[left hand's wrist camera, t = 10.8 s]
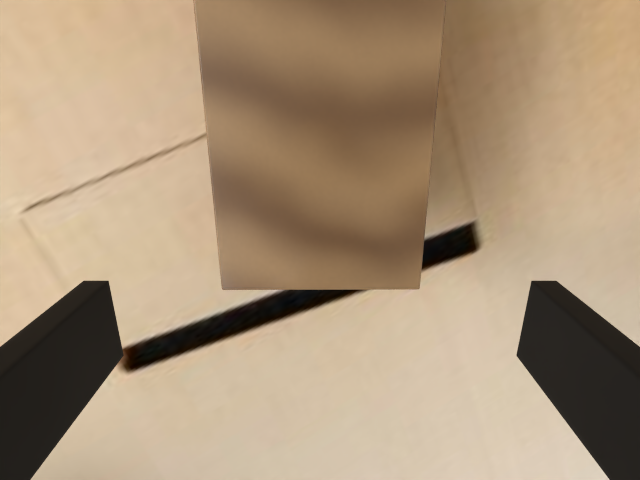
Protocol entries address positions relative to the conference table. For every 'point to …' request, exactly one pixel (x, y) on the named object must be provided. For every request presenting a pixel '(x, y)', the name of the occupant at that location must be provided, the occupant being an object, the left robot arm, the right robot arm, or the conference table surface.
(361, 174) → the cabinet
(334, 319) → the conference table surface
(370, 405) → the conference table surface
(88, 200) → the conference table surface
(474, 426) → the conference table surface
